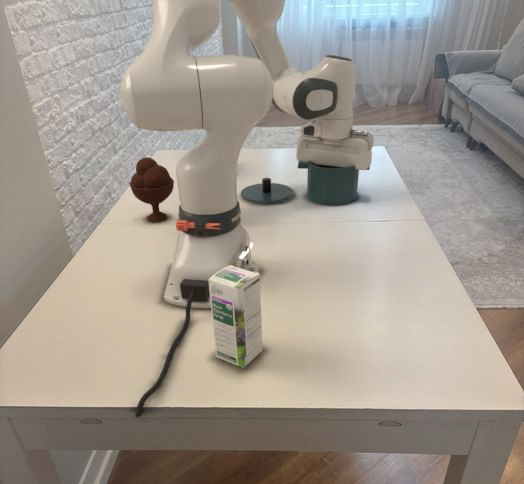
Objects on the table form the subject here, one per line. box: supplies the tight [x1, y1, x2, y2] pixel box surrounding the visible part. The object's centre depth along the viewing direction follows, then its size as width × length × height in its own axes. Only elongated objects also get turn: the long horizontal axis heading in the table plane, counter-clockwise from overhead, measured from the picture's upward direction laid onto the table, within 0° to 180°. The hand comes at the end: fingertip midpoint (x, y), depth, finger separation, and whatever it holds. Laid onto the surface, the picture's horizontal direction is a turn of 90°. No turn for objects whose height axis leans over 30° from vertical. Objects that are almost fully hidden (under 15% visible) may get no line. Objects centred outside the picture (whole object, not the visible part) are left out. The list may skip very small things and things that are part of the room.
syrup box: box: [209, 265, 263, 369], centre depth 76 cm, size 6×6×14 cm
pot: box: [297, 161, 371, 206], centre depth 134 cm, size 14×19×10 cm
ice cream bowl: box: [128, 156, 175, 224], centre depth 123 cm, size 11×11×15 cm
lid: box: [240, 177, 294, 204], centre depth 137 cm, size 15×15×5 cm
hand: (331, 182), depth 134 cm, fingers closed on onion, 6 cm apart
